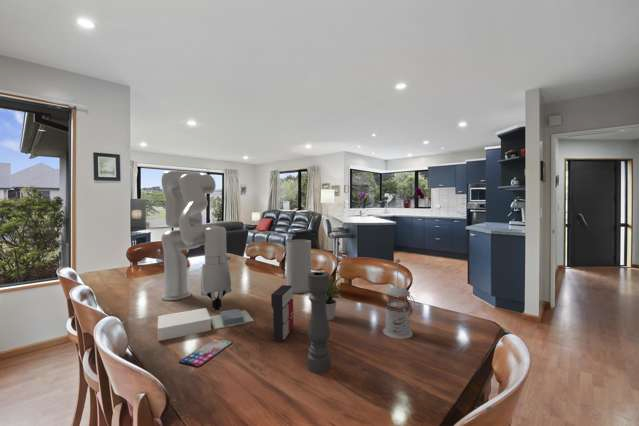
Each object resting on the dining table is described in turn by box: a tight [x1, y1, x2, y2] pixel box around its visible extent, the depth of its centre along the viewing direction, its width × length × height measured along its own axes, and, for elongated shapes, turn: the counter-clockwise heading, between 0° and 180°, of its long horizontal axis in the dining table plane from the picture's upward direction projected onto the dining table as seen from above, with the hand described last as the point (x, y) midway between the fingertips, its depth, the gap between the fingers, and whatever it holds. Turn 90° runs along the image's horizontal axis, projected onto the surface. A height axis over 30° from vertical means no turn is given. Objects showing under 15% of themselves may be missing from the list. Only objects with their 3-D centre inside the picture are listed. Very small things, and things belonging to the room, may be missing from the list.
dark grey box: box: [270, 284, 294, 342], centre depth 95 cm, size 11×4×15 cm, turn 168°
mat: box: [209, 309, 255, 330], centre depth 108 cm, size 12×14×1 cm
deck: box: [157, 307, 212, 342], centre depth 100 cm, size 12×16×4 cm
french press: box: [382, 258, 416, 340], centre depth 96 cm, size 10×12×25 cm
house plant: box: [326, 275, 347, 321], centre depth 109 cm, size 14×14×16 cm
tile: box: [219, 308, 243, 326], centre depth 107 cm, size 9×7×2 cm
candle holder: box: [306, 271, 332, 375], centre depth 75 cm, size 6×6×25 cm
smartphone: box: [178, 338, 233, 369], centre depth 84 cm, size 8×1×15 cm
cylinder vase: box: [285, 239, 312, 294], centre depth 144 cm, size 12×12×25 cm
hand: (216, 309), depth 105 cm, fingers closed
